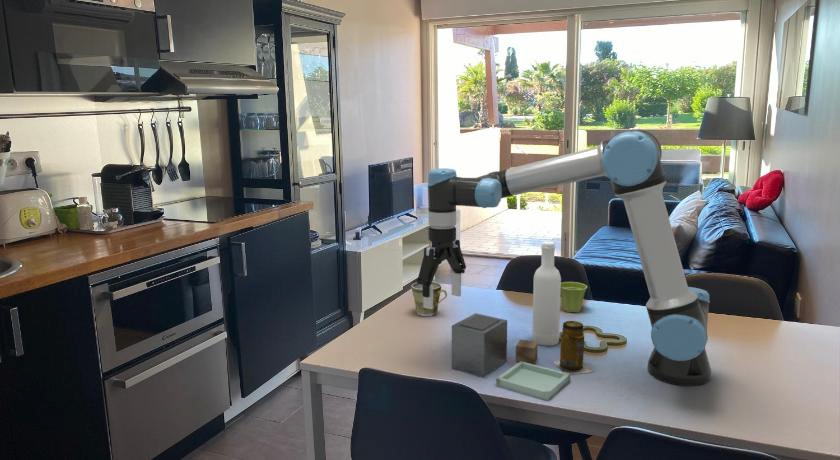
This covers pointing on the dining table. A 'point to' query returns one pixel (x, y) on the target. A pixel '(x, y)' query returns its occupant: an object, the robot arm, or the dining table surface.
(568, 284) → the plant pot
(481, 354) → the unit
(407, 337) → the dining table surface
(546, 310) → the bottle
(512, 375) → the tray
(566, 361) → the condiment
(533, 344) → the walnut block
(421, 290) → the ceramic cup
